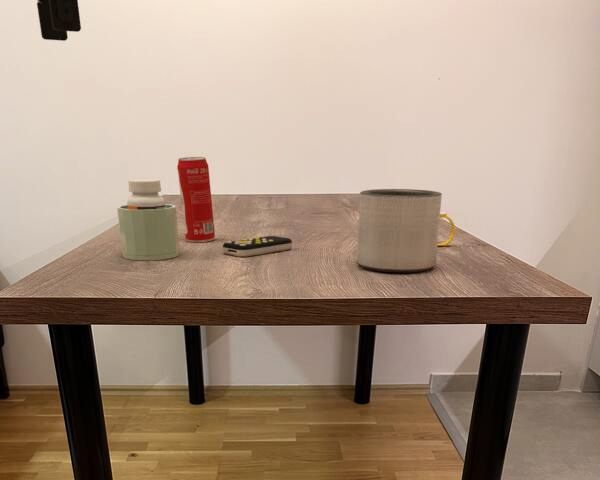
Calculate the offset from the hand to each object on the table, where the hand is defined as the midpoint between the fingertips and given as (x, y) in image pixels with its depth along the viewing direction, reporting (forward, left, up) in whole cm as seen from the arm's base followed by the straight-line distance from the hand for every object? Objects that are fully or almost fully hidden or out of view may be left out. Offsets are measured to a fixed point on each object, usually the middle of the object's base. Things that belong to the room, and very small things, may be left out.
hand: (60, 35), depth 80 cm
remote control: (+32, +3, -31) cm, 44 cm away
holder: (+15, +11, -30) cm, 36 cm away
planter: (+41, -22, -31) cm, 56 cm away
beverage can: (+30, +20, -31) cm, 47 cm away
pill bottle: (+15, +11, -30) cm, 35 cm away
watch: (+62, -13, -31) cm, 70 cm away
